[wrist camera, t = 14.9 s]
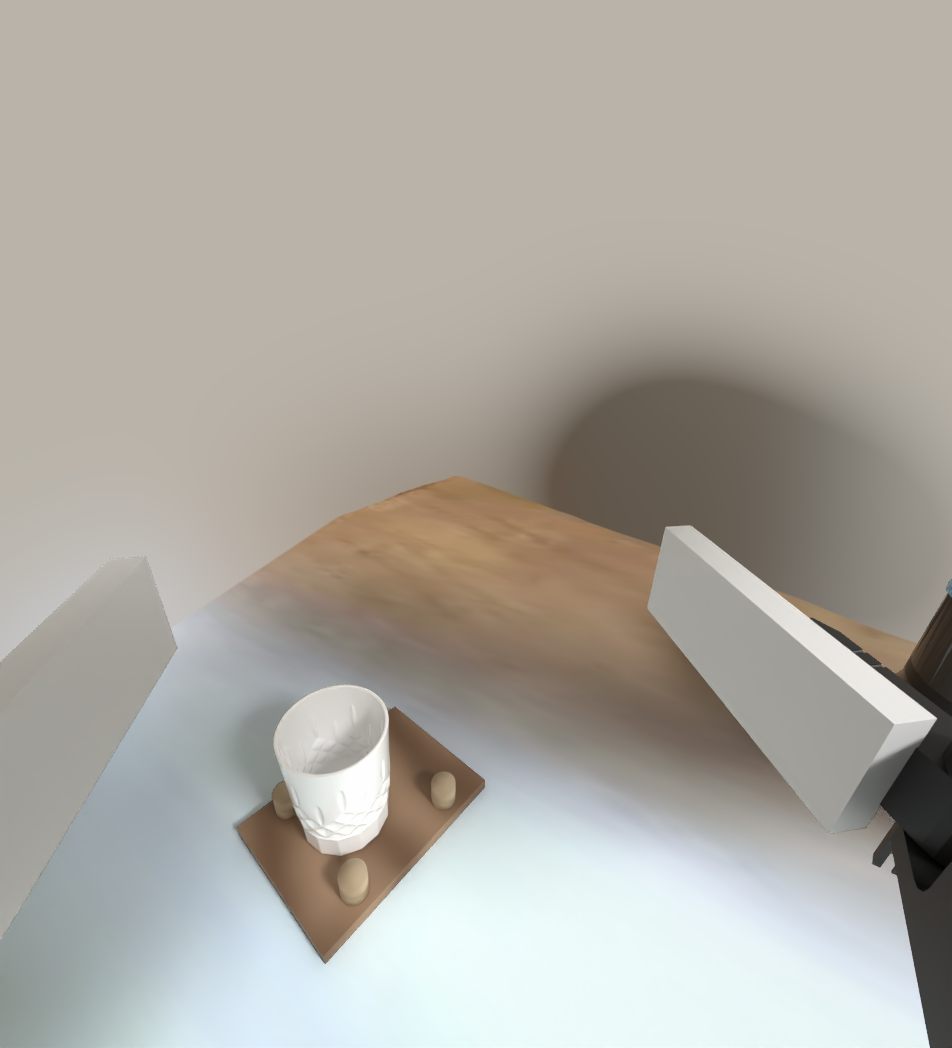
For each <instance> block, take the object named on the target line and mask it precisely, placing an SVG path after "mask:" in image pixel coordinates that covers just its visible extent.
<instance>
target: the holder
mask: <svg viewBox="0 0 952 1048" xmlns="http://www.w3.org/2000/svg"><path fill="white" fill-rule="evenodd" d="M388 717H389V752H390V786H389V804H388V816H387V818H386V820H385V822H384V824H383V826H382V828H381V830H380V832H379V834H378V835H377V836H376V837H375V838H374V839H373V840H371V841H370V842H369V843H368V844H367V845H366V846H365V847H363V848H362V849H360V850H357V851H355V852H352V853H349V854H346V855H343V856H337V855H329V854H322V853H321V852H319V851H318V850H317V849H316V848H315V847H313V846H312V845H311V844H310V843H308V841H307V838H306V835H305V832H304V829H303V826H302V824H301V821H300V820H299V818H298V817H297V815H296V812H295V809H294V807H293V804H292V802H291V799H290V796H289V793H288V790H287V787H286V784H285V781H282V782H280V783H279V784H278V785H277V786H276V787H275V788H274V790H273V792H272V799H273V800H272V801H271V802H269V803H268V804H267V805H265V806H264V807H263V808H262V809H260V810H259V811H258V812H256V813H255V814H254V815H252V816H251V817H250V818H248V819H247V820H246V821H245V822H243V823H242V824H241V825H239V826H238V827H237V829H238V832H239V835H240V837H241V838H242V840H243V841H244V843H245V844H246V846H247V847H248V849H249V850H250V852H251V853H252V855H253V856H254V858H255V859H256V861H257V862H258V864H259V865H260V867H261V868H262V870H263V871H264V873H265V874H266V876H267V877H268V879H269V880H270V882H271V883H272V885H273V886H274V888H275V889H276V891H277V892H278V894H279V895H280V897H281V898H282V900H283V901H284V903H285V904H286V906H287V907H288V909H289V910H290V912H291V913H292V915H293V916H294V918H295V919H296V921H297V922H298V924H299V925H300V927H301V928H302V930H303V931H304V933H305V934H306V936H307V937H308V939H309V940H310V942H311V943H312V945H313V946H314V948H315V949H316V951H317V952H318V954H319V955H320V957H321V958H322V960H323V961H324V963H325V964H326V963H327V962H328V960H329V959H330V958H331V957H332V956H333V955H334V954H335V953H336V952H337V951H338V949H339V948H340V947H341V946H342V945H343V944H344V943H345V942H346V941H347V939H348V938H349V937H350V936H351V935H352V934H353V933H354V932H355V931H356V929H357V928H358V927H359V926H360V925H361V924H362V923H363V922H364V921H365V919H366V918H367V917H368V916H369V915H370V914H371V913H372V912H373V911H374V909H375V908H376V907H377V906H378V905H379V904H380V903H381V902H382V901H383V900H384V898H385V897H386V896H387V895H388V894H389V893H390V892H391V891H392V890H393V888H394V887H395V886H396V885H397V884H398V883H399V882H400V881H401V880H402V878H403V877H404V876H405V875H406V874H407V873H408V872H409V871H410V870H411V868H412V867H413V866H414V865H415V864H416V863H417V862H418V861H419V860H420V858H421V857H422V856H423V855H424V854H425V853H426V852H427V851H428V850H429V849H430V847H431V846H432V845H433V844H434V843H435V842H436V841H437V840H438V839H439V837H440V836H441V835H442V834H443V833H444V832H445V831H446V830H447V829H448V827H449V826H450V825H451V824H452V823H453V822H454V821H455V820H456V819H457V817H458V816H459V815H460V814H461V813H462V812H463V811H464V810H465V809H466V807H467V806H468V805H469V804H470V803H471V802H472V801H473V800H474V799H475V798H476V796H477V795H478V794H479V793H480V792H481V791H482V790H483V789H484V788H485V780H484V779H483V778H482V777H481V776H479V775H478V774H477V773H476V772H474V771H473V770H472V769H471V768H469V767H468V766H467V765H466V764H465V763H463V762H462V761H461V760H460V759H458V758H457V757H456V756H455V755H454V754H452V753H451V752H450V751H449V750H447V749H446V748H445V747H444V746H442V745H441V744H440V743H439V742H438V741H436V740H435V739H434V738H433V737H431V736H430V735H429V734H428V733H427V732H425V731H424V730H423V729H422V728H420V727H419V726H418V725H417V724H415V723H414V722H413V721H412V720H411V719H409V718H408V717H407V716H406V715H404V714H403V713H402V712H401V711H399V710H398V709H397V708H396V707H394V708H392V709H391V710H390V711H388Z"/></svg>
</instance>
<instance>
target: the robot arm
mask: <svg viewBox="0 0 952 1048" xmlns="http://www.w3.org/2000/svg"><path fill="white" fill-rule="evenodd" d="M946 591H947V592H948V594H947V595H946V596H945V598H944V600H943V602H942V603H941V605H940V607H939V608H938V610H937V612H936V613H935V615H934V617H933V618H932V620H931V622H930V624H929V625H928V627H927V629H926V630H925V632H924V634H923V635H922V637H921V639H920V640H919V642H918V644H917V645H916V647H915V649H914V651H913V652H912V655H911V656H910V658H909V660H908V661H907V663H906V665H905V666H904V668H903V669H902V670H901V671H899V672H898V673H896V674H895V673H893V672H892V671H891V670H889V669H888V668H887V667H884V668H883V667H882V666H881V663H880V662H879V661H877V660H876V659H875V658H873V657H872V656H871V655H870V654H868V653H863V651H862V648H860V647H859V646H858V645H856V644H855V643H854V642H852V641H851V640H850V639H848V638H847V637H846V636H845V635H843V634H842V633H841V632H839V631H837V630H835V629H833V628H831V627H829V626H827V625H825V624H823V623H821V622H820V621H818V620H816V619H814V618H808V617H807V616H806V615H804V614H803V613H802V612H801V611H799V610H798V609H797V608H795V607H794V606H793V605H792V604H790V603H789V602H788V601H787V600H785V599H784V598H783V597H781V596H780V595H779V594H778V593H776V592H775V591H774V590H773V589H771V588H770V587H769V586H767V585H766V584H765V583H764V582H762V581H761V580H760V579H758V578H757V577H756V576H755V575H753V574H752V573H751V572H749V571H748V570H747V569H746V568H744V567H743V566H742V565H741V564H739V563H738V562H737V561H735V560H734V559H733V558H732V557H730V556H729V555H728V554H727V553H725V552H724V551H723V550H721V549H720V548H719V547H717V546H716V545H715V544H714V543H713V542H711V541H710V540H709V539H707V538H706V537H705V536H704V535H702V534H701V533H699V532H698V531H697V530H696V529H695V528H693V527H692V526H675V527H665V532H664V536H663V541H662V545H661V549H660V554H659V558H658V562H657V567H656V571H655V576H654V580H653V584H652V589H651V593H650V598H649V602H648V606H647V609H648V610H649V611H650V612H651V614H652V615H653V616H654V617H655V619H656V620H657V621H658V622H659V624H660V625H661V626H662V627H663V629H664V630H665V631H666V632H667V634H668V635H669V636H670V637H671V639H672V640H673V641H674V642H675V644H676V645H677V646H678V647H679V649H680V650H681V651H682V652H683V654H684V655H685V656H686V657H687V658H688V660H689V661H690V662H691V663H692V665H693V666H694V667H695V668H696V670H697V671H698V672H699V673H700V675H701V676H702V677H703V678H704V680H705V681H706V682H707V683H708V685H709V686H710V687H711V688H712V690H713V691H714V692H715V693H716V695H717V696H718V697H719V698H720V700H721V701H722V702H723V703H724V704H725V706H726V707H727V708H728V709H729V711H730V712H731V713H732V714H733V716H734V717H735V718H736V719H737V721H738V722H739V723H740V724H741V726H742V727H743V728H744V729H745V731H746V732H747V733H748V734H749V736H750V737H751V738H752V739H753V741H754V742H755V743H756V744H757V746H758V747H759V748H760V749H761V751H762V752H763V753H764V754H765V755H766V757H767V758H768V759H769V760H770V762H771V763H772V764H773V765H774V767H775V768H776V769H777V770H778V772H779V773H780V774H781V775H782V777H783V778H784V779H785V780H786V782H787V783H788V784H789V785H790V787H791V788H792V789H793V790H794V792H795V793H796V794H797V795H798V797H799V798H800V799H801V800H802V801H803V803H804V804H805V805H806V806H807V808H808V809H809V810H810V811H811V813H812V814H813V815H814V816H815V818H816V819H817V820H818V821H819V823H820V824H821V825H822V826H823V828H824V829H825V830H826V831H827V833H828V834H833V833H839V832H845V831H850V830H856V829H862V828H866V827H867V826H868V824H869V823H870V821H871V819H872V818H873V816H874V815H875V813H876V812H877V810H878V809H879V807H880V806H882V807H883V808H884V809H885V810H886V811H887V812H888V814H889V815H890V816H891V817H892V818H893V819H894V820H895V821H896V822H895V823H894V825H893V826H892V828H891V829H890V830H889V832H888V833H887V835H886V836H885V838H884V839H883V841H882V842H881V843H880V845H879V846H878V848H877V849H876V851H875V852H874V854H873V862H872V864H874V865H876V866H878V867H881V866H882V864H883V863H884V861H885V860H886V859H887V857H888V856H889V854H890V853H892V854H893V857H894V862H895V867H894V868H893V869H892V872H891V873H893V874H895V875H897V878H898V883H899V888H900V893H901V898H902V904H903V909H904V914H905V919H906V925H907V930H908V935H909V940H910V945H911V951H912V956H913V961H914V966H915V972H916V977H917V982H918V987H919V992H920V998H921V1003H922V1008H923V1013H924V1019H925V1024H926V1029H927V1034H928V1039H929V1045H930V1048H952V579H951V580H950V581H949V582H948V584H947V587H946ZM176 650H177V646H176V643H175V640H174V637H173V634H172V631H171V628H170V625H169V622H168V619H167V616H166V614H165V611H164V607H163V604H162V602H161V599H160V596H159V593H158V590H157V587H156V584H155V581H154V578H153V575H152V572H151V569H150V566H149V563H148V560H147V557H132V558H131V557H130V558H115V559H114V558H113V559H109V560H108V561H107V562H106V563H105V564H104V565H103V566H102V567H101V568H100V569H99V570H97V571H96V572H95V573H94V574H93V575H92V576H91V577H90V578H89V579H88V580H87V581H86V582H85V583H84V584H83V585H82V586H81V587H79V588H78V589H77V590H76V591H75V592H74V593H73V594H72V595H71V596H70V597H69V598H68V599H67V600H66V601H65V602H64V603H63V604H61V605H60V606H59V607H58V608H57V609H56V610H55V611H54V612H53V613H52V614H51V615H50V616H49V617H48V618H47V619H46V620H44V622H42V623H41V624H40V625H39V626H38V627H37V628H36V629H35V630H34V631H33V632H32V633H31V634H30V635H29V636H28V637H27V638H25V639H24V640H23V641H22V642H21V643H20V644H19V645H18V646H17V647H16V648H15V649H14V650H13V651H12V652H11V653H10V654H8V656H6V658H4V659H3V660H2V661H1V662H0V941H1V939H2V938H3V936H4V934H5V933H6V931H7V929H8V928H9V926H10V924H11V923H12V921H13V919H14V918H15V916H16V914H17V913H18V911H19V909H20V908H21V906H22V905H23V903H24V901H25V900H26V898H27V896H28V895H29V893H30V891H31V890H32V888H33V886H34V885H35V883H36V881H37V880H38V878H39V876H40V875H41V873H42V871H43V870H44V868H45V866H46V865H47V863H48V862H49V860H50V858H51V857H52V855H53V853H54V852H55V850H56V848H57V847H58V845H59V843H60V842H61V840H62V838H63V837H64V835H65V833H66V832H67V830H68V828H69V827H70V825H71V823H72V822H73V820H74V818H75V817H76V815H77V814H78V812H79V810H80V809H81V807H82V805H83V804H84V802H85V800H86V799H87V797H88V795H89V794H90V792H91V790H92V789H93V787H94V785H95V784H96V782H97V780H98V779H99V777H100V775H101V774H102V772H103V770H104V769H105V767H106V766H107V764H108V762H109V761H110V759H111V757H112V756H113V754H114V752H115V751H116V749H117V747H118V746H119V744H120V742H121V741H122V739H123V737H124V736H125V734H126V732H127V731H128V729H129V727H130V726H131V724H132V722H133V721H134V719H135V718H136V716H137V714H138V713H139V711H140V709H141V708H142V706H143V704H144V703H145V701H146V699H147V698H148V696H149V694H150V693H151V691H152V689H153V688H154V686H155V684H156V683H157V681H158V679H159V678H160V676H161V675H162V673H163V671H164V670H165V668H166V666H167V665H168V663H169V661H170V660H171V658H172V656H173V655H174V653H175V651H176Z"/></svg>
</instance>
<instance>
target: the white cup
mask: <svg viewBox="0 0 952 1048" xmlns="http://www.w3.org/2000/svg"><path fill="white" fill-rule="evenodd" d="M273 744H274V751H275V755H276V757H277V760H278V763H279V766H280V769H281V772H282V775H283V778H284V781H285V784H286V787H287V790H288V793H289V796H290V799H291V802H292V804H293V807H294V809H295V812H296V815H297V817H298V818H299V820H300V821H301V824H302V826H303V829H304V832H305V835H306V838H307V841H308V843H310V844H311V845H312V846H313V847H315V848H316V849H317V850H318V851H319V852H321V853H322V854H329V855H337V856H343V855H346V854H349V853H352V852H355V851H357V850H360V849H362V848H363V847H365V846H366V845H367V844H368V843H369V842H370V841H371V840H373V839H374V838H375V837H376V836H377V835H378V834H379V832H380V830H381V828H382V826H383V824H384V822H385V820H386V818H387V816H388V804H389V786H390V752H389V717H388V711H387V708H386V706H385V704H384V702H383V701H382V699H381V698H380V697H379V696H378V695H377V694H375V693H374V692H372V691H371V690H369V689H366V688H364V687H360V686H356V685H335V686H329V687H325V688H322V689H319V690H317V691H314V692H312V693H310V694H308V695H306V696H305V697H303V698H302V699H300V700H299V701H297V702H296V703H295V704H294V705H293V706H292V707H291V708H290V709H289V710H288V711H287V712H286V713H285V714H284V716H283V717H282V718H281V720H280V722H279V724H278V726H277V728H276V731H275V734H274V742H273Z"/></svg>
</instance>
